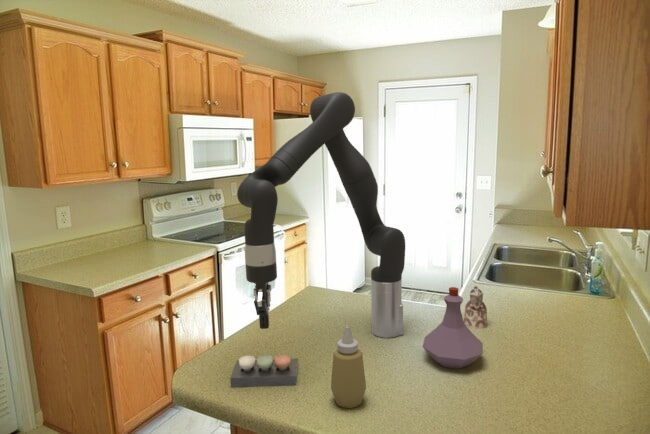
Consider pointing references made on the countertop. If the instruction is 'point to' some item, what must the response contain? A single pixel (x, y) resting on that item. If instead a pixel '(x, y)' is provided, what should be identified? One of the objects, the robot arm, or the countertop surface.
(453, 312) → the flask
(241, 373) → the panel
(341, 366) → the squeeze bottle
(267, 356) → the sage button
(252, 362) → the ivory button
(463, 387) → the countertop surface
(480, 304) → the figurine
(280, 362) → the terracotta button
